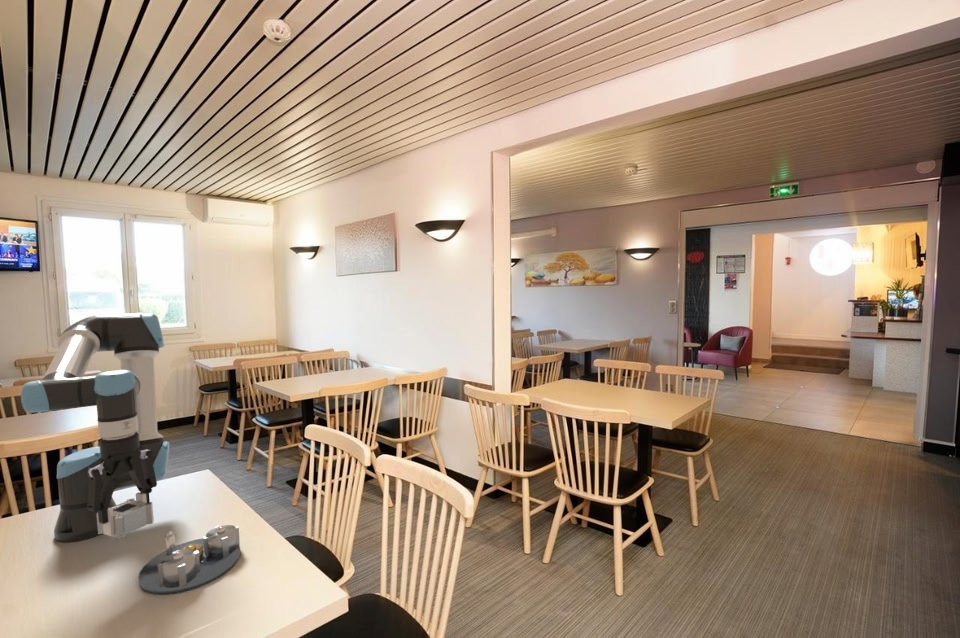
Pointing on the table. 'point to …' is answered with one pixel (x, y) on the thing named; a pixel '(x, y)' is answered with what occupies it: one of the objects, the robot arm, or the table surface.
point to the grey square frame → (129, 517)
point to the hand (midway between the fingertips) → (126, 526)
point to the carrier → (191, 562)
